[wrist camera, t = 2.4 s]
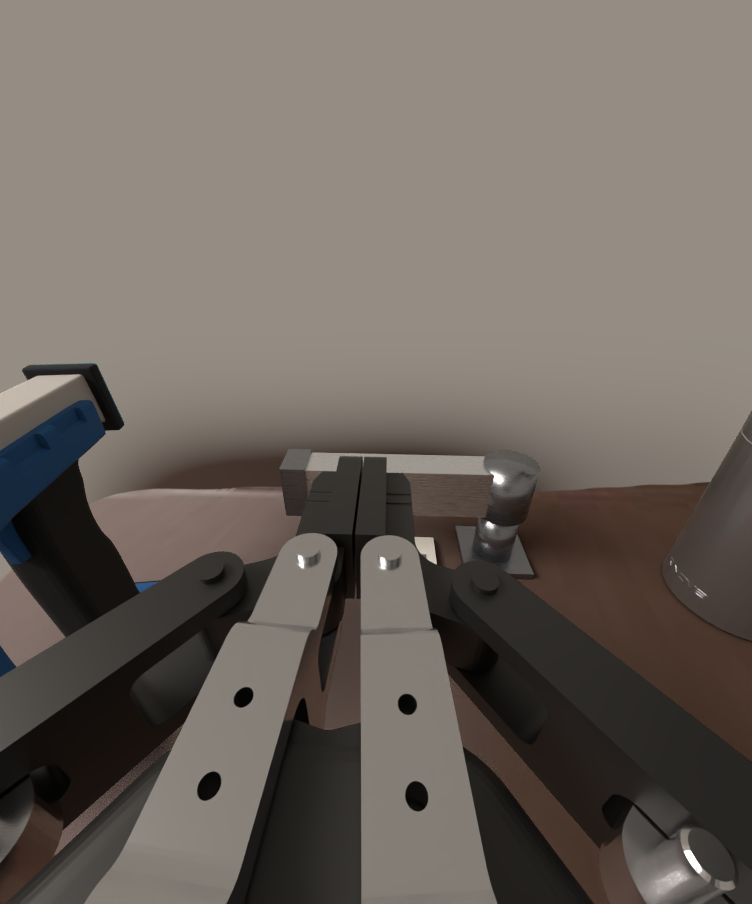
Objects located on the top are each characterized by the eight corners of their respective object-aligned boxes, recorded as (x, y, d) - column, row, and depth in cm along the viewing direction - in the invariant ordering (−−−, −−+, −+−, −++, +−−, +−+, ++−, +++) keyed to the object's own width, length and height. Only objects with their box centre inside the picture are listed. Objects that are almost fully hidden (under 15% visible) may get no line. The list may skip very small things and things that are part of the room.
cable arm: (518, 494, 34) (529, 450, 32) (534, 527, 31) (548, 480, 28) (296, 489, 35) (290, 445, 33) (284, 520, 31) (277, 473, 29)
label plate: (432, 543, 36) (433, 536, 36) (436, 575, 33) (437, 569, 33) (382, 542, 37) (382, 535, 36) (381, 574, 33) (381, 567, 33)
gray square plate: (513, 531, 38) (523, 493, 35) (532, 578, 33) (546, 537, 30) (454, 530, 38) (460, 491, 35) (464, 576, 33) (472, 535, 30)
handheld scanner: (191, 573, 33) (104, 358, 23) (93, 816, 19) (-231, 548, 9) (138, 578, 33) (25, 361, 22) (0, 830, 19) (-448, 566, 9)
